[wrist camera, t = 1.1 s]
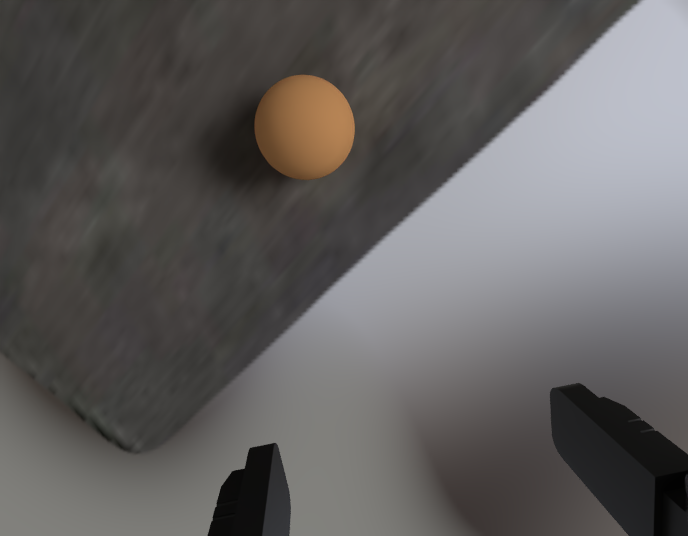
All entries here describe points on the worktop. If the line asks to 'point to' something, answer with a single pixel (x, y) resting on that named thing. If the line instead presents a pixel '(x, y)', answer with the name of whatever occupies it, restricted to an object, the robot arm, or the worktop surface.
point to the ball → (304, 127)
